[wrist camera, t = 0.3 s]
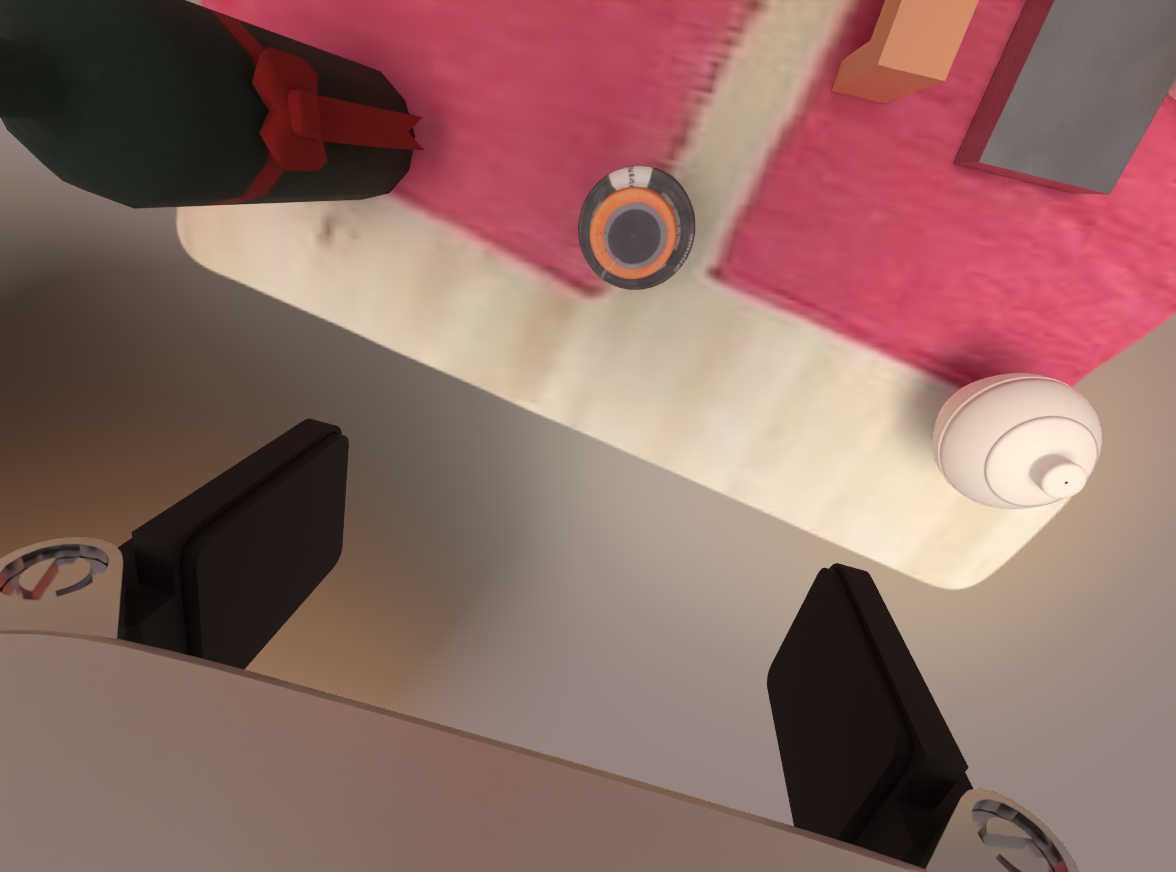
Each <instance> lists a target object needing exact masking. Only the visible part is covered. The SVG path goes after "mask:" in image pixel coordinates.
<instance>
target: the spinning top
mask: <svg viewBox="0 0 1176 872" xmlns="http://www.w3.org/2000/svg"><path fill="white" fill-rule="evenodd" d="M1101 444H1102V432H1101V426H1100V422H1099V420H1098V417H1097V414H1096V412H1095V411H1094V409H1093V407H1092V406H1091V405H1090V403H1089V402H1088V401H1087V400H1086V399H1085V398H1084V397H1083V396H1082V395H1081V394H1080V393H1079V392H1077V391H1076V390H1075V389H1074V388H1072V387H1071V386H1069V385H1067V384H1065V383H1063V382H1061V381H1059V380H1056V379H1053V378H1049V377H1046V376H1042V375H1037V374H1030V373H1009V374H1001V375H996V376H992V377H988V378H984V379H981V380H978V381H975V382H972V383H970V384H968V385H966V386H964V387H962V388H961V389H959V390H958V391H957V392H955V393H954V394H953V395H952V396H951V397H950V398H949V399H948V400H947V401H946V402H945V404H944V405H943V406H942V408H941V410H940V412H939V414H938V416H937V420H936V423H935V427H934V432H933V453H934V458H935V461H936V463H937V466H938V468H939V470H940V471H941V473H942V475H943V476H944V478H945V479H946V481H947V482H948V483H949V484H950V485H951V486H952V487H953V488H954V489H955V490H957V491H958V492H960V493H961V494H962V495H964V496H966V497H967V498H969V499H971V500H973V501H975V502H978V503H980V504H983V505H987V506H991V507H995V508H1002V509H1026V508H1033V507H1038V506H1042V505H1047V504H1050V503H1053V502H1056V501H1059V500H1061V499H1063V498H1068V497H1071V496H1073V495H1075V494H1077V493H1078V492H1079V491H1080V490H1081V489H1082V488H1083V487H1084V485H1085V483H1086V481H1087V479H1088V478H1089V477H1090V475H1091V474H1092V472H1093V470H1094V468H1095V466H1096V463H1097V460H1098V458H1099V454H1100V451H1101Z"/></svg>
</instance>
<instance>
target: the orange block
mask: <svg viewBox="0 0 1176 872" xmlns="http://www.w3.org/2000/svg"><path fill="white" fill-rule="evenodd" d="M978 2H979V0H885V2H884V5H883V7H882V10H881V13H880V16H879V18H878V21H877V24H876V26H875V29H874V32H873V35H872V37H871V40H870V41H868V42H867V43H866V44H864V45H863V46H861V47H860V48H859V49H857V50H856V51H854V52H853V53H852V54H850V55H849V56H847V57H846V58H845V59H843V60H842V61H841V64H840V67H839V70H838V73H837V76H836V79H835V81H834V84H833V87H832V90H831V91H833V92H837V93H841V94H845V95H849V96H853V97H857V98H861V99H866V100H870V101H874V102H878V103H882V104H884V103H887V102H889V101H892V100H895V99H898V98H900V97H903V96H906V95H908V94H911V93H914V92H917V91H919V90H922V89H925V88H928V87H930V86H933V85H936V84H938V83H941V82H944V81H945V80H946V77H947V75H948V73H949V70H950V68H951V66H952V63H953V61H954V58H955V56H956V54H957V51H958V49H959V47H960V44H961V42H962V40H963V37H964V35H965V32H966V30H967V28H968V25H969V23H970V21H971V18H972V16H973V14H974V11H975V9H976V6H977V4H978Z"/></svg>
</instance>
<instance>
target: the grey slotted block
mask: <svg viewBox="0 0 1176 872" xmlns="http://www.w3.org/2000/svg"><path fill="white" fill-rule="evenodd" d="M1175 80H1176V0H1027V2H1026V4H1025V6H1024V8H1023V11H1022V13H1021V15H1020V17H1019V19H1018V22H1017V24H1016V26H1015V28H1014V30H1013V33H1012V35H1011V37H1010V39H1009V42H1008V44H1007V46H1006V48H1005V50H1004V53H1003V55H1002V57H1001V59H1000V61H999V64H998V66H997V68H996V70H995V72H994V75H993V77H992V79H991V81H990V84H989V86H988V88H987V90H986V92H985V95H984V97H983V99H982V101H981V103H980V106H979V108H978V110H977V112H976V114H975V117H974V119H973V121H972V123H971V126H970V128H969V130H968V132H967V134H966V137H965V139H964V141H963V143H962V145H961V148H960V150H959V152H958V154H957V156H956V159H955V161H954V163H953V164H956V165H960V166H965V167H969V168H973V169H977V170H981V171H985V172H989V173H993V174H997V175H1001V176H1005V177H1009V178H1013V179H1017V180H1021V181H1025V182H1029V183H1033V184H1037V185H1042V186H1046V187H1050V188H1054V189H1058V190H1062V191H1066V192H1070V193H1078V194H1110V193H1111V192H1112V190H1113V188H1114V186H1115V185H1116V183H1117V181H1118V179H1119V178H1120V176H1121V174H1122V172H1123V171H1124V169H1125V167H1126V165H1127V164H1128V162H1129V160H1130V158H1131V157H1132V155H1133V153H1134V151H1135V150H1136V148H1137V146H1138V144H1139V143H1140V141H1141V139H1142V137H1143V136H1144V134H1145V132H1146V130H1147V129H1148V127H1149V125H1150V123H1151V122H1152V120H1153V118H1154V116H1155V115H1156V113H1157V111H1158V109H1159V108H1160V106H1161V104H1162V102H1163V101H1164V99H1165V97H1166V95H1167V94H1168V92H1169V90H1170V88H1171V87H1172V85H1173V83H1174V81H1175Z"/></svg>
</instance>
